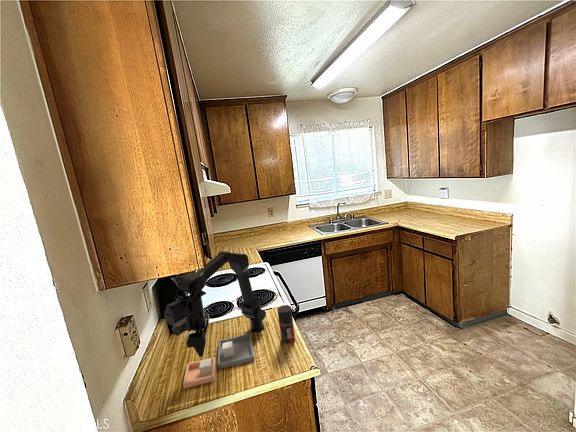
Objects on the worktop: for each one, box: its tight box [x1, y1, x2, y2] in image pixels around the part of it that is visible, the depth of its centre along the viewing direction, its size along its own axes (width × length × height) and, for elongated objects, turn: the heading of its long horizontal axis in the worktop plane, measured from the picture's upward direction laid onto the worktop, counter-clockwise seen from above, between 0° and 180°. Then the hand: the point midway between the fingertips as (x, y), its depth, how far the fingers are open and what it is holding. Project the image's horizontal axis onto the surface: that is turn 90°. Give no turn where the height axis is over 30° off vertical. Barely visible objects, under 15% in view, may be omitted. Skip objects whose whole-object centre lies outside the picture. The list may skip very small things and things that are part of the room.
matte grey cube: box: [199, 357, 213, 377], centre depth 103 cm, size 4×4×4 cm
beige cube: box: [222, 341, 234, 358], centre depth 112 cm, size 4×4×4 cm
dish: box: [182, 356, 217, 389], centre depth 103 cm, size 11×11×2 cm
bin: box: [217, 332, 255, 370], centre depth 113 cm, size 16×14×2 cm
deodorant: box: [277, 304, 296, 345], centre depth 116 cm, size 6×6×15 cm
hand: (202, 348), depth 101 cm, fingers open, 9 cm apart
